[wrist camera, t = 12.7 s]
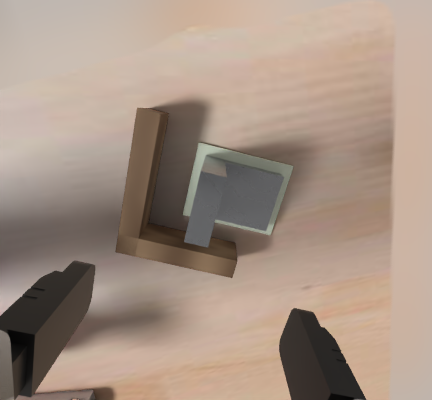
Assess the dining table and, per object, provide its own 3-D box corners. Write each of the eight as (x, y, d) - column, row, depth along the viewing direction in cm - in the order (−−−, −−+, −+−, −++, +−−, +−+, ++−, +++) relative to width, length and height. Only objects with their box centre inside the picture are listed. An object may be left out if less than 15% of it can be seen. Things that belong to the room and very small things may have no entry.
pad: (182, 213, 30) (182, 214, 30) (198, 142, 28) (198, 142, 28) (270, 234, 31) (270, 235, 31) (293, 165, 29) (293, 166, 28)
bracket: (192, 208, 30) (183, 242, 22) (205, 154, 28) (200, 171, 21) (263, 225, 30) (278, 263, 23) (280, 173, 29) (303, 196, 21)
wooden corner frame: (128, 234, 31) (115, 252, 28) (148, 108, 27) (137, 107, 23) (230, 258, 32) (232, 278, 28) (266, 138, 28) (273, 142, 24)
